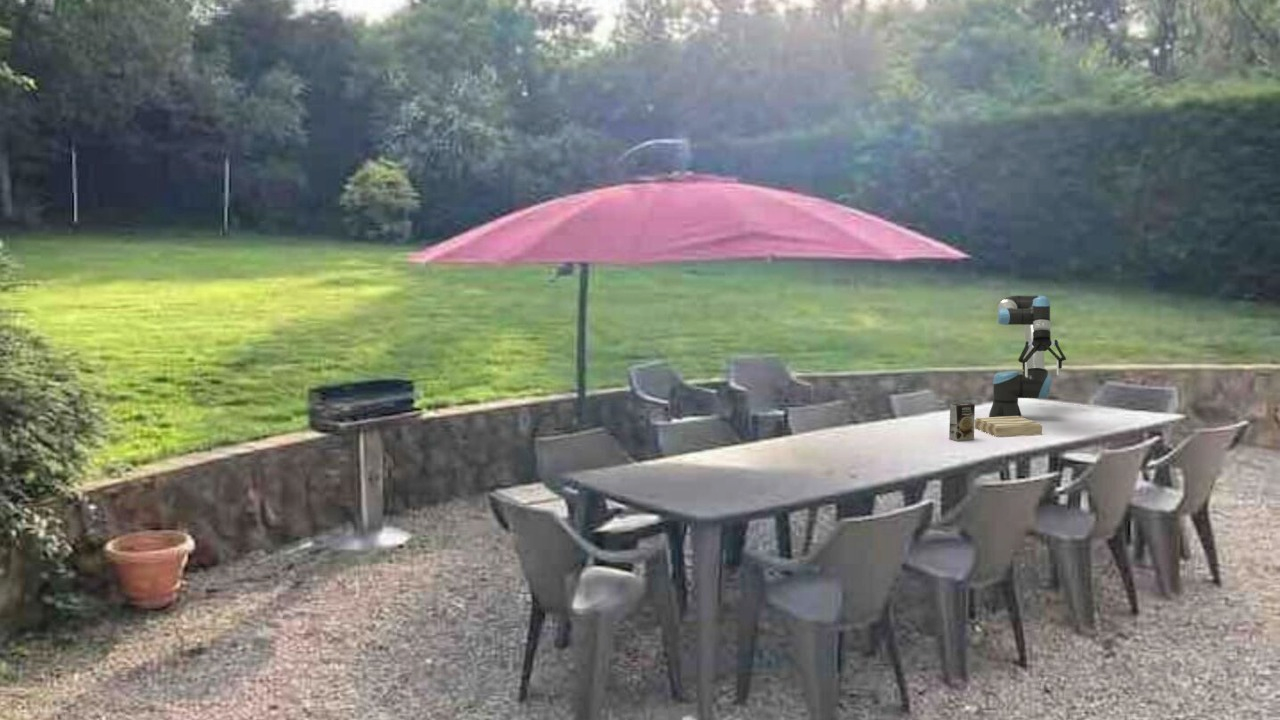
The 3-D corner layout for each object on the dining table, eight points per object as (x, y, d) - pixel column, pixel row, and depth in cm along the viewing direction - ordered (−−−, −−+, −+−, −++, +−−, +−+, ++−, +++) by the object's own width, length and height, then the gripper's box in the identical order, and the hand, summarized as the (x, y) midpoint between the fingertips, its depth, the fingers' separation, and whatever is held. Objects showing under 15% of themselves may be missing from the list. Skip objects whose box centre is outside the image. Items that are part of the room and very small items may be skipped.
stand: (974, 428, 520) (974, 417, 519) (1018, 426, 523) (1018, 415, 523) (996, 437, 498) (996, 426, 498) (1041, 434, 502) (1042, 423, 501)
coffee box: (957, 441, 490) (957, 405, 488) (948, 438, 497) (949, 403, 495) (974, 439, 493) (975, 404, 491) (966, 437, 499) (966, 402, 497)
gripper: (1011, 330, 507) (1011, 375, 502) (1069, 327, 494) (1070, 373, 489) (1014, 334, 513) (1015, 379, 508) (1072, 331, 501) (1072, 376, 496)
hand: (1042, 376), depth 499 cm, fingers open, 13 cm apart
